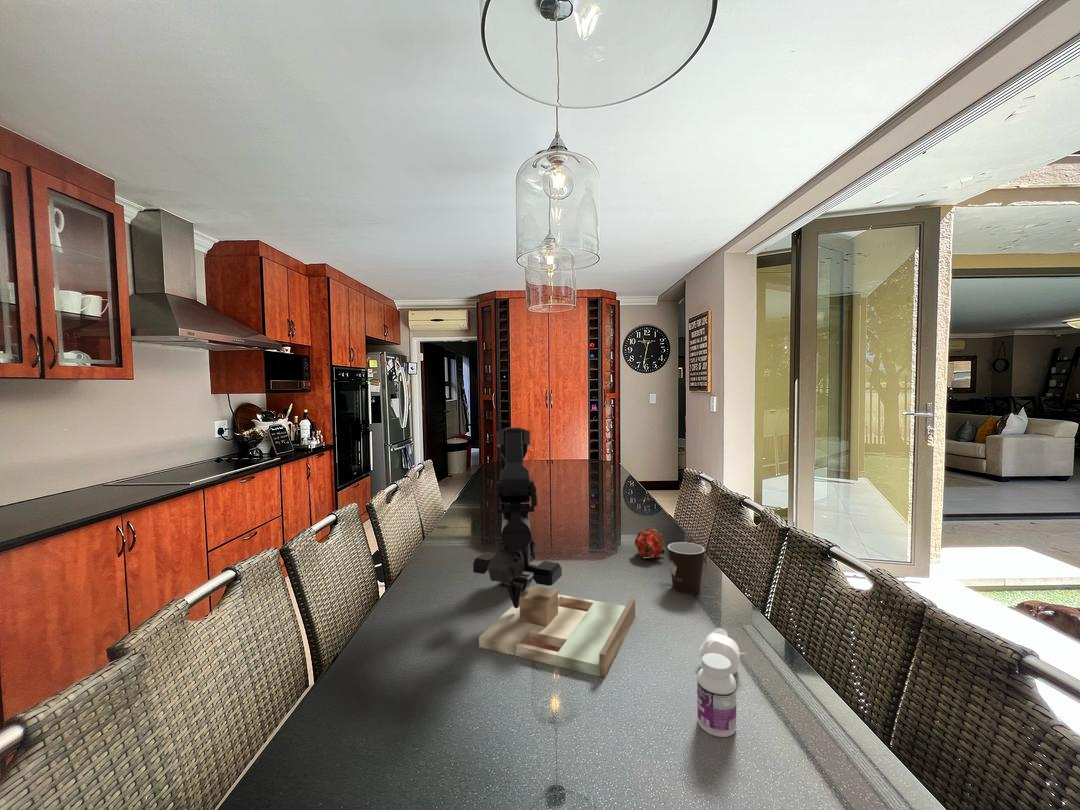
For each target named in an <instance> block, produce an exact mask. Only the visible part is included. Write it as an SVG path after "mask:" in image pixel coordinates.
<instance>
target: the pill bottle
mask: <svg viewBox="0 0 1080 810" xmlns="http://www.w3.org/2000/svg"><path fill="white" fill-rule="evenodd" d="M696 687H697V688H696V689H697V690H696V691H697V692H696V695H697V696H696V698H697V699H696V703H697V705H696V706H697V707H696V708H697V722H698V725H699V726H700V728H702V730H703V731H704V732H706V733H707V734H709V735H712V736H714V737H720V738H727V737H731V736H732V735H733V734H735V732H736V730H737V681H736V678H735V676H734V674H733V675H732V674H731V662H730V660H729V659H728V658H726V657H725V656H723V655H720V654H716V653H708V654H705V655H704V656H703V657H702V658H701V668H700V669H699V670H698V672H697V675H696Z"/></svg>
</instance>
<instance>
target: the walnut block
mask: <svg viewBox="0 0 1080 810" xmlns="http://www.w3.org/2000/svg"><path fill="white" fill-rule="evenodd" d="M558 594H559V590H558V589H553V588H547V587H543V586H538V585H531V586H530V587H529V588H528V589H526V591H525V593H523V594H522V595H521V596H520V621H522V622H526V623H531V624H536V625H540V626H545V627H547V626H548V625H549V624H550V623H551V621H552V620H553V619H554V618H555V617H556V616H557V614H558Z"/></svg>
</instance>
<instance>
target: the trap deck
mask: <svg viewBox="0 0 1080 810" xmlns="http://www.w3.org/2000/svg"><path fill="white" fill-rule="evenodd" d="M635 618H636V598H633V597H630V598H629V600H628V601H627V603H626V606H625V605H622V604H615V603H610V602H604V601H598V600H593V599H586V598H582V597H581V598H580V597H576V596H571V595H565V594H564V595H563V594H559V593H558V614H557V616H556V617H555V618H554V619H553V620H552V621H551V623H550V624H549V625H548V626H547V627H545V626H540V625H536V624H531V623H526V622H522V621H520V606H519V607H518V608H514V606H513V605H512V606H510V607H509V609H507V610H506V611H505V612H504V613H503V614H502V615H501V616H500V617H499V618H498V619H496V621H494V622H493V623H492V624H491V625H490V626H488V628H487V629H486V630H485V631H484V632H483V633H482V634H481V635H479V637H478V647H479V648H481V647H482V648H481V649H486V650H489V649H490V651H493V650H494V651H493V652H497V651H498V653H501V652H502V653H501V654H505V653H506V654H505V655H509V654H511V655H510V656H513V655H515V656H514V657H517V656H519V657H518V658H522V659H525V660H530V661H533V662H534V661H535V662H538V663H542V664H547V665H551V666H555V667H559V668H562V669H563V668H564V669H567V670H570V671H575V672H580V673H583V674H587V675H591V676H595V677H599V678H603V679H606V677H607V675H608V674H609V671H610V669H611V667H612V665H613V663H614V661H615V659H616V657H617V655H618V653H619V651H620V649H621V647H622V645H623V643H624V641H625V639H626V636H627V634H628V633H629V631H630V628H631V626H632V625H633V623H634V621H635Z"/></svg>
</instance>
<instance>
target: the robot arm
mask: <svg viewBox="0 0 1080 810" xmlns="http://www.w3.org/2000/svg"><path fill="white" fill-rule="evenodd" d="M496 434H497V448H500V454H501V456H502V457H503V460H504V461H505V467H504V468H502V470H501V471H500V473H499V475H500V476H499V477H500V478H499V479H500V480H499V481H496V514H501V519H502V520H501V535H500V537H499V538H498V543H499V544H498V551H497V553H495V552H489V551H485V552H484V553H481V554H480V555H478V556H476V557H475V558H474V559H473V562H472V572H473V573H474V574H481V575H484V574H486V573H488V575H489V580H490V581H491V582H500V583H499V584H500V586H504V587H505V588H506V590H507V591H508V595H509V597H510V599H511V603H512V606H514V608H518V607H519V606H520V596H521V595H522V594H523V593H525V592H526V591H527V588H528V586H529V584H530V583H531V582H532V581H534V582H535V583H536V584H538V585H542V586H548V587H549V586H553V585H554V584H555V583H556V582H557V581H558V580H559V579H560V578H561V577H562V576H563V573H562V572H563V571H562V566H561V565H560V563H559V562H554V561H547V560H543V561H542V562H541V563H540V564H538V565H536V564H531V563H532V562H533V560H534V559H536V542H535V541H534V538H533V536H532V530H531V523H530V513H534V512H535V507H537V506H538V499H537V486H536V485H535V481H534V480H531V479H530V477H531V476H530V470H529V469H528V468H526V467H525V466H524V460H525V458H526V456H527V455H528V447H530V446H531V431H530V430H528V429H526V428H523V427H518V426H517V427H515V426H514V427H506V428H503V429H502V430H498V431H497V433H496ZM500 504H501V505H500Z"/></svg>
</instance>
